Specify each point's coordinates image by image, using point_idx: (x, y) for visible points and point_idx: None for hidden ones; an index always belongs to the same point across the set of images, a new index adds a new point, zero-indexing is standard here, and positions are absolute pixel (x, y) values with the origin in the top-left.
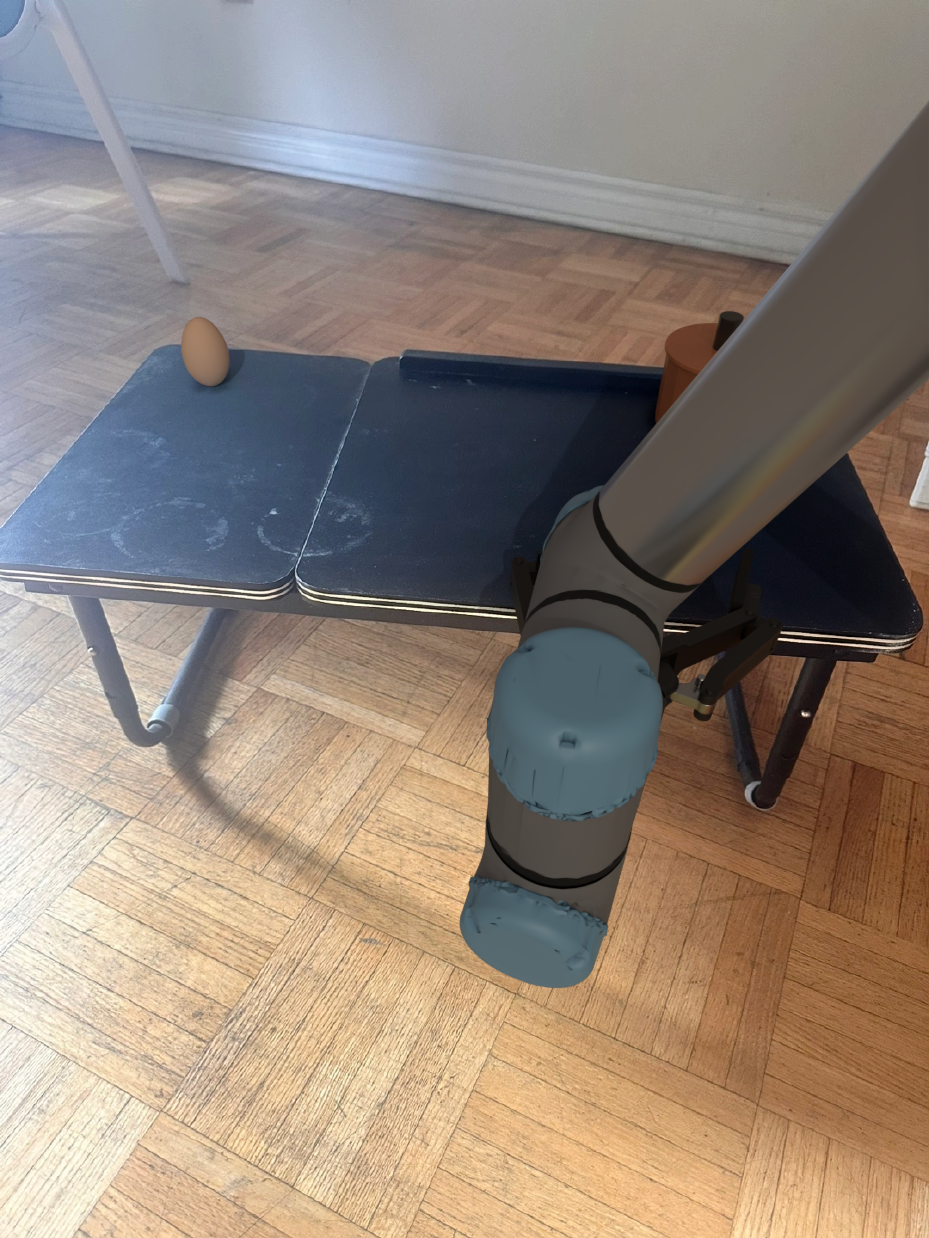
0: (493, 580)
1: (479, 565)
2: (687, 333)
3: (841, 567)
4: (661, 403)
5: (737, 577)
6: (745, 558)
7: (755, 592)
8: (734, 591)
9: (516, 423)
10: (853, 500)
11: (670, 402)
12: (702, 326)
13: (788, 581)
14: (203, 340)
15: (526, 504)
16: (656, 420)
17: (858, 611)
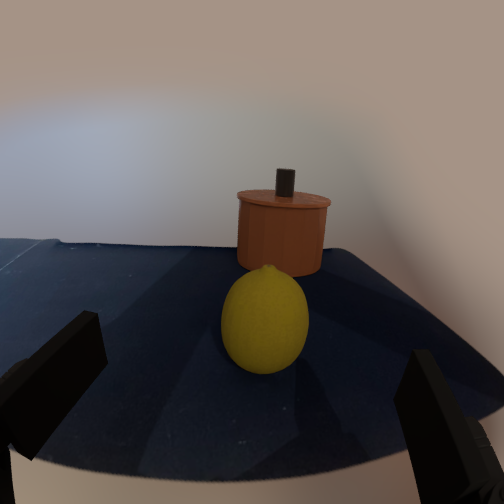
0: None
1: None
2: (254, 191)
3: (441, 355)
4: (240, 242)
5: (435, 415)
6: (429, 369)
7: (476, 434)
8: (450, 453)
9: (119, 265)
10: (411, 299)
11: (247, 237)
12: (264, 190)
13: None
14: None
15: None
16: (238, 259)
17: (481, 394)
